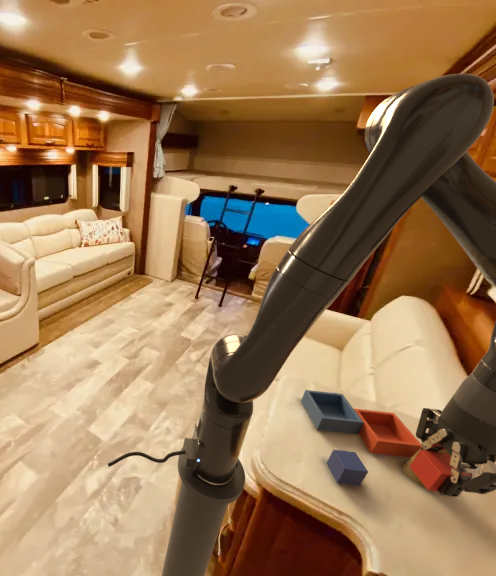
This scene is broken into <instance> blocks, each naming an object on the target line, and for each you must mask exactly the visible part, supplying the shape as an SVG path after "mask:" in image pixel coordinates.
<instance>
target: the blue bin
mask: <svg viewBox="0 0 496 576" xmlns="http://www.w3.org/2000/svg"><path fill="white" fill-rule="evenodd" d="M300 402H301V404H302V406H303V408H304V409H305V412H306V413H307V415H308V417H309V418H310V420H311V422H312V424H313V425H314V427H315V429H316V430H317V431H323V432H332V433H339V434H340V433H341V434H349V435H357V436H358V432H359V431H360V429H361V427H362V425H363V423H364V422H363V421H362V420H361V418H360V417H359V416H358V414H357V413H356V412H355V410H354V409H355V408H354V407H353V406H352V405H351V404H350V402H349V401H348V399H347V397H345V395H344V394H343V393H338V392H330V391H329V392H327V391H318V390H312V389H311V390H309V389H305V390H304V393H303V394H302V398H301V400H300Z"/></svg>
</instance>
